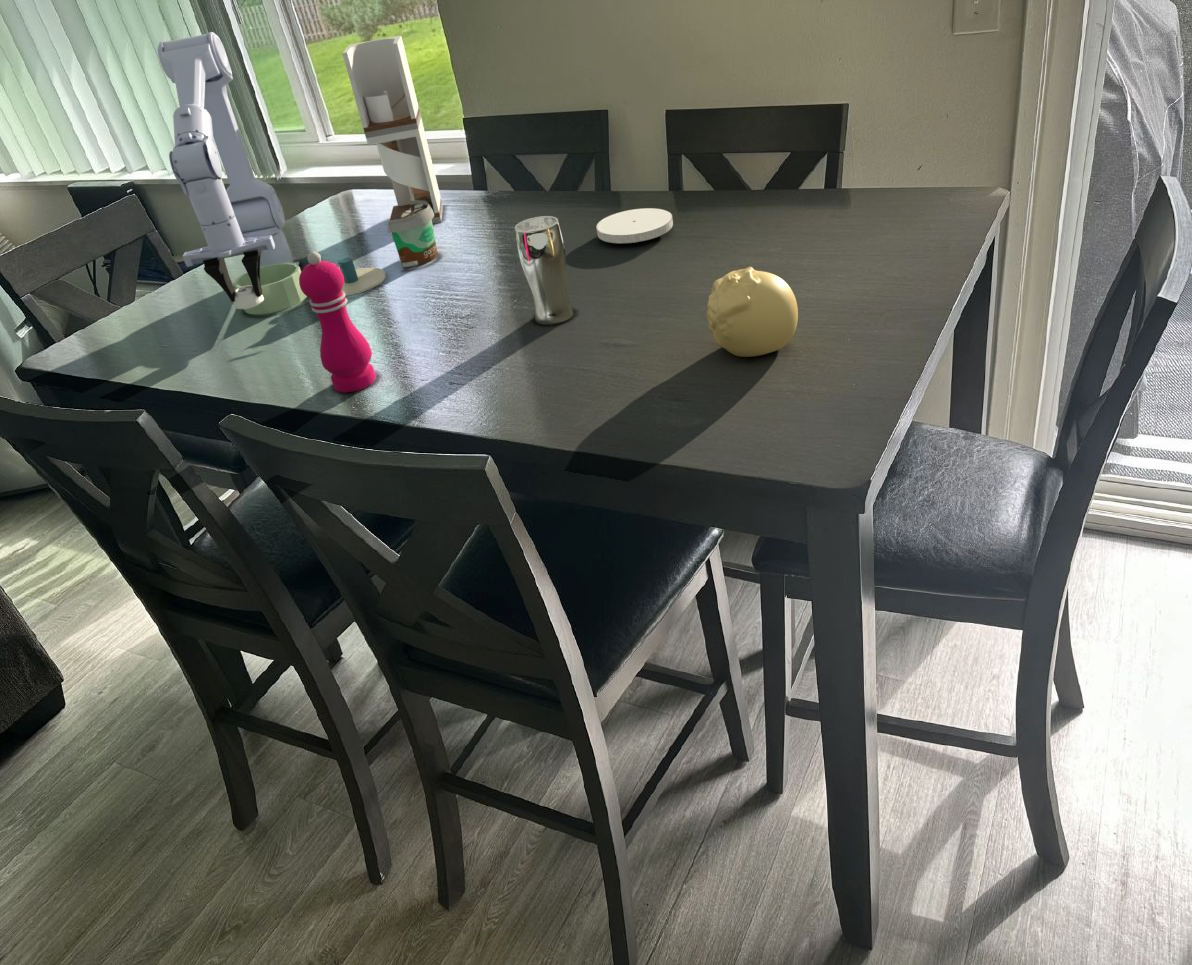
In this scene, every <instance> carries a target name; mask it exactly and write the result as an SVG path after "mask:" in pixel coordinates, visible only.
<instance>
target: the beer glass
mask: <svg viewBox="0 0 1192 965" xmlns="http://www.w3.org/2000/svg"><path fill="white" fill-rule="evenodd" d="M514 231H515V238H516V245H517V246H516V247H517V251H518V257H519V262H520V265H521V267H522V271H523V274H524V277H525V278H526V282H527V284H528V286H529V289H530V291H531V294H532V298H533V304H534V320H535V322H536V323H537V324H539V325H543V326H552V325H559V324H561V323H564V322H567V321H569V320H570V319H571V318H572V317H573V315H574V310H573V307H572V305H571V302H570V300H569V295H568V290H567V256H566V255H567V254H566V248H565V242H564V238H563V234H562V229H561V227H560V223H559V218H558V217H556V216H552V215H541V216H535V217H530V218H527V219H524V220H522V221H519V222H518V223H517V224H515V226H514Z"/></svg>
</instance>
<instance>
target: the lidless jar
mask: <svg viewBox="0 0 1192 965" xmlns="http://www.w3.org/2000/svg"><path fill="white" fill-rule="evenodd" d="M235 293H236V294H235V302H233V307H234V308H235V309H238V310H244V309H249V308H252V307H255V306H257V305H259V304H260V303H261V302H262V301H263V300H264V297H263V295H261V296H260V297H257V296H256V294H255V292H254V289H253V286H252V285H246V286H242V287H240V288H238V289H235Z"/></svg>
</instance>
